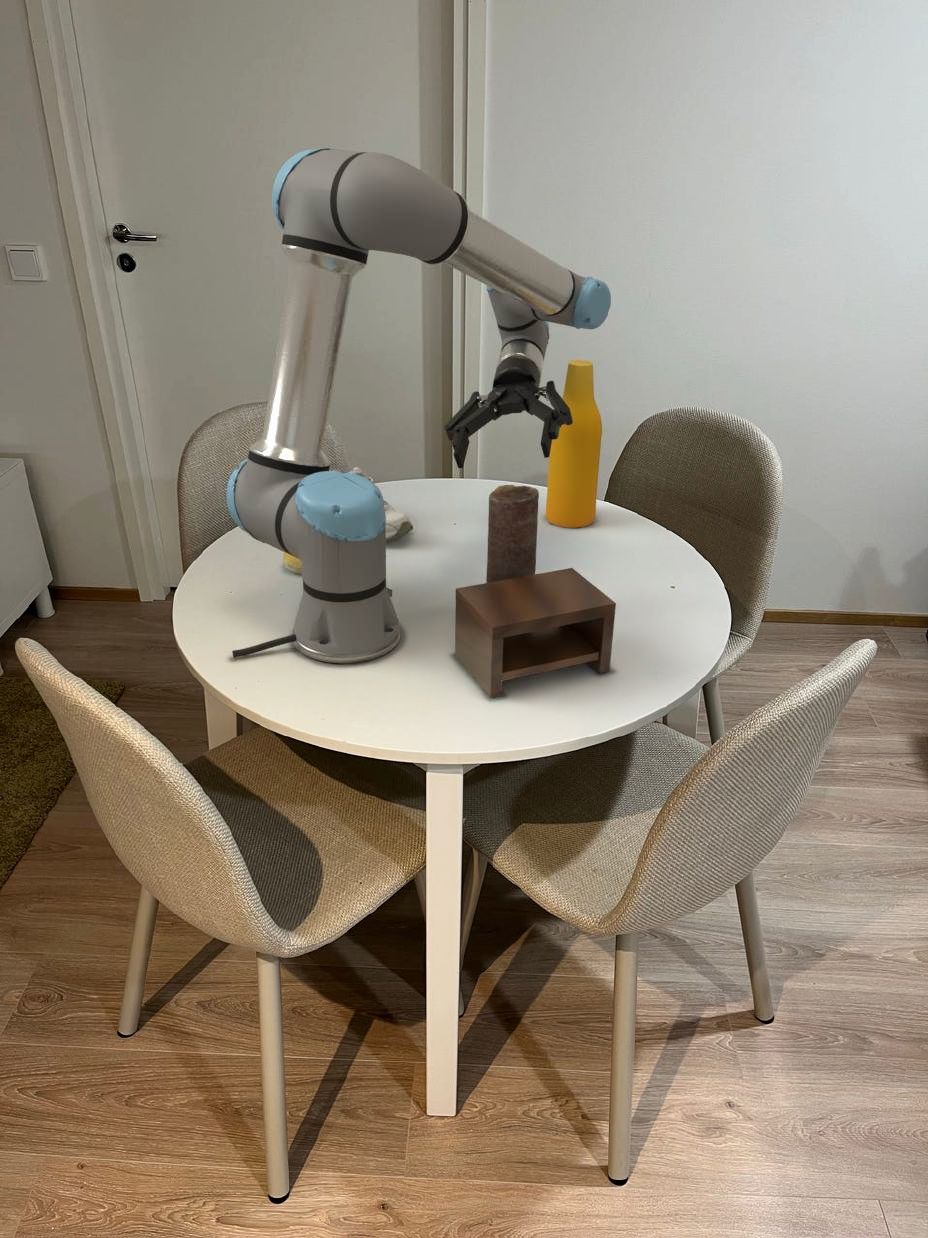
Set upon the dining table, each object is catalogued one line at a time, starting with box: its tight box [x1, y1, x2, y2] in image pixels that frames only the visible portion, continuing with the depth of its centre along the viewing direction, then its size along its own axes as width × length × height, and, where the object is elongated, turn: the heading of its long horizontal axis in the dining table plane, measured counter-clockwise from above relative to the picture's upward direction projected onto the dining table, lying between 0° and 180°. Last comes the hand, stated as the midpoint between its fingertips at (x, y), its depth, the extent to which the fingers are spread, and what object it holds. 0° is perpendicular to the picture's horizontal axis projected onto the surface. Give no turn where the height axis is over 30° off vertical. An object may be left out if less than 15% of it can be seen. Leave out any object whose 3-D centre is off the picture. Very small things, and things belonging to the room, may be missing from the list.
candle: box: [485, 484, 540, 583], centre depth 144 cm, size 8×7×20 cm
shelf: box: [454, 567, 617, 699], centre depth 133 cm, size 18×12×10 cm, turn 113°
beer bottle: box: [545, 359, 603, 529], centre depth 176 cm, size 9×9×29 cm
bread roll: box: [282, 552, 302, 575], centre depth 162 cm, size 8×9×4 cm
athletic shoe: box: [332, 466, 414, 542], centre depth 176 cm, size 10×23×12 cm, turn 52°
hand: (500, 456), depth 148 cm, fingers open, 13 cm apart
